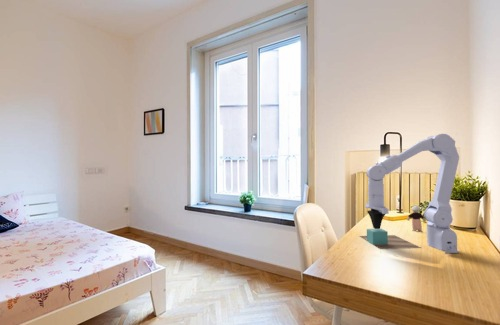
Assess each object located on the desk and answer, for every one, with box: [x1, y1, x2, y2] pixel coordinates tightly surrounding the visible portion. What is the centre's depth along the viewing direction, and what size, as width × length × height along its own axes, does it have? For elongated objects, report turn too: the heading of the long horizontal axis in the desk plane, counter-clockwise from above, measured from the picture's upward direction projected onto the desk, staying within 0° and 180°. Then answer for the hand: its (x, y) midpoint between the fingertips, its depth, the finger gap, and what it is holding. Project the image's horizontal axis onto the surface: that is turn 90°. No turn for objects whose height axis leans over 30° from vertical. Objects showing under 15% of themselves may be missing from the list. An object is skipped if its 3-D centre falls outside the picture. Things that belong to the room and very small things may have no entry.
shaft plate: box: [359, 234, 422, 250], centre depth 108 cm, size 18×16×4 cm
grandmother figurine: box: [406, 205, 427, 233], centre depth 127 cm, size 8×4×13 cm, turn 84°
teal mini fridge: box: [366, 228, 389, 246], centre depth 107 cm, size 5×6×5 cm
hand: (376, 228), depth 107 cm, fingers closed
